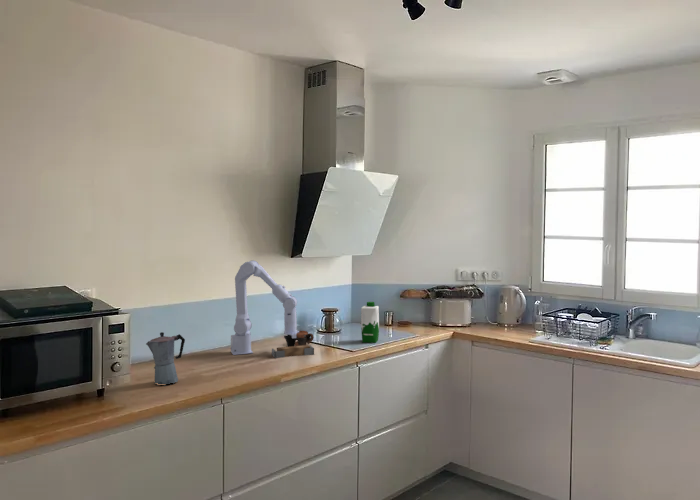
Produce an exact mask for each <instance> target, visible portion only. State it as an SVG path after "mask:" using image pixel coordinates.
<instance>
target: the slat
mask: <svg viewBox="0 0 700 500" xmlns="http://www.w3.org/2000/svg"><path fill="white" fill-rule="evenodd" d="M309 345H310V344H306V345H302V346H295V345H294V346H290V347H288V346H281V347H280V346H279V347H276V351H283V350H284V351H285V357H284V358H287V357H299V356H305V355H304V349H306V348H310V346H309Z"/></svg>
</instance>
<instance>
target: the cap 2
mask: <svg viewBox="0 0 700 500" xmlns="http://www.w3.org/2000/svg"><path fill="white" fill-rule="evenodd" d="M308 345H309V346H310V348H306V349H304V355H303V356H310V355H311V356H312V355H315V348H314V347H313V346H312V344H311V345H310V344H308Z"/></svg>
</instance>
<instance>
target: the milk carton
mask: <svg viewBox="0 0 700 500" xmlns="http://www.w3.org/2000/svg"><path fill="white" fill-rule="evenodd" d="M375 303H376V302H374V301H367V302H366V305H363V306H362V307H360V308H361V309H360V310H361V313H360V314H361V315H360V317H361V319H360V320H361V321H360V324H361V325H360V327H361V328H360V329H361V342H362V344H363V343H364V344H366V343H367V344H368V343H369V344H376V343H377V342H378V341H379V335H380V314H379V313H380V311H379V308H380V307H379V305H376V304H375Z"/></svg>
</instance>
